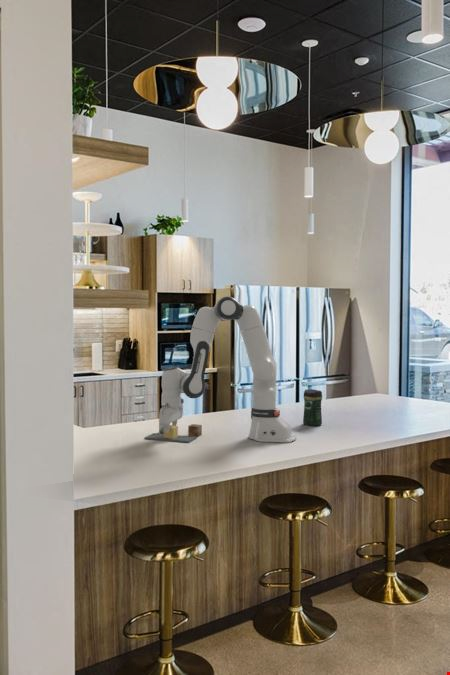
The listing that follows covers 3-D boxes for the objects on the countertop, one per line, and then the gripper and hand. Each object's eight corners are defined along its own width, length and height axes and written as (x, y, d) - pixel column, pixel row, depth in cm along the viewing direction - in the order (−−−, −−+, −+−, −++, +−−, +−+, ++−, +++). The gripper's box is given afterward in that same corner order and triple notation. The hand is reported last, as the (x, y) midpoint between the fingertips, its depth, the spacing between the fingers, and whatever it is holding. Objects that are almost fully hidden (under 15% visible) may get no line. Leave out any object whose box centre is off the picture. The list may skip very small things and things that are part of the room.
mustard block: (177, 436, 303) (177, 425, 303) (173, 438, 299) (173, 427, 298) (167, 435, 305) (167, 425, 305) (163, 437, 300) (163, 427, 300)
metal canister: (170, 432, 316) (171, 420, 316) (166, 434, 312) (167, 422, 311) (161, 431, 318) (161, 419, 317) (157, 433, 313) (157, 421, 313)
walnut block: (201, 435, 311) (201, 424, 311) (198, 437, 307) (198, 426, 306) (191, 434, 313) (192, 424, 313) (188, 436, 308) (188, 426, 308)
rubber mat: (196, 438, 303) (196, 436, 303) (188, 442, 294) (188, 441, 294) (153, 434, 310) (153, 433, 310) (144, 439, 300) (144, 437, 300)
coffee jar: (324, 425, 340) (325, 390, 338) (314, 426, 334) (314, 391, 333) (310, 422, 347) (311, 387, 346) (300, 424, 342) (301, 389, 341)
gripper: (168, 405, 290) (168, 436, 291) (185, 399, 309) (185, 427, 310) (155, 404, 292) (155, 435, 293) (172, 398, 311) (172, 426, 312)
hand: (170, 431), depth 302 cm, fingers open, 5 cm apart
